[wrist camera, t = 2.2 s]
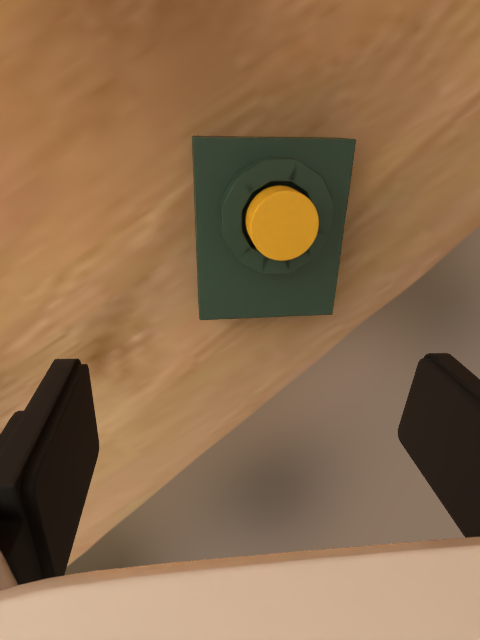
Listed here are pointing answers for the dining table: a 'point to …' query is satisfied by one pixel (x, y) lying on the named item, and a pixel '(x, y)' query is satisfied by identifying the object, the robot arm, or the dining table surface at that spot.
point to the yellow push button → (281, 222)
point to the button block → (234, 241)
